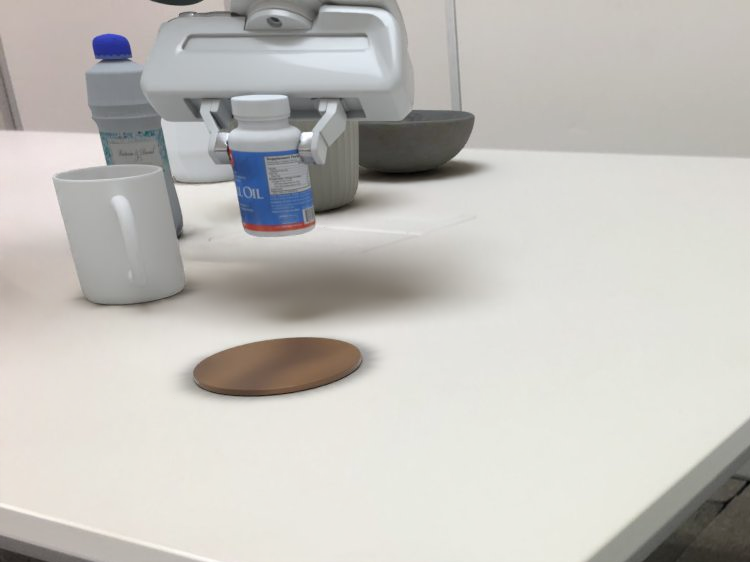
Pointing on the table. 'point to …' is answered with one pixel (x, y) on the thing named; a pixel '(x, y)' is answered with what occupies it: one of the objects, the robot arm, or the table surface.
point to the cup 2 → (192, 153)
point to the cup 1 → (121, 232)
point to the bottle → (127, 113)
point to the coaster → (277, 366)
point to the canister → (332, 167)
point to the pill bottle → (269, 168)
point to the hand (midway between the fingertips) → (266, 159)
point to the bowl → (414, 140)
